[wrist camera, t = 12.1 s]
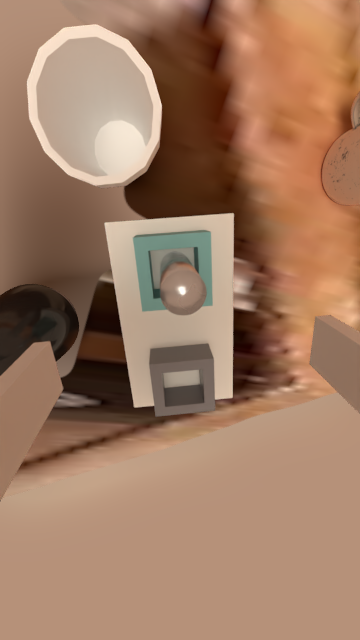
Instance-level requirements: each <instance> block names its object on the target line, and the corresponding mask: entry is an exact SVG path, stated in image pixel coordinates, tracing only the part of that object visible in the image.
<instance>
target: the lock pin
mask: <svg viewBox="0 0 360 640" xmlns="http://www.w3.org/2000/svg"><path fill="white" fill-rule="evenodd" d="M206 295H207V290H206V285H205V283H204V281H203V280H202V278H201V277H200V275H199V274H198V272H197V271H196V269H195V268H194V266H193V265H192V263H191V262H190V260H189V259H188V258H187V256H186V255H185V254H183V253H181V252H178V251H172V252H169V253H167V254H166V255H165V256H164V257H163V258H162V260H161V263H160V296H161V301H162V303H163V305H164V306H165V308H166V309H167V310H168V311H170V312H171V313H173V314H176V315H182V316H183V315H190V314H193V313H195V312H196V311H198V310H199V309H200V308H201V307H202V305H203V304H204V302H205V300H206Z"/></svg>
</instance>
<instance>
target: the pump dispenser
mask: <svg viewBox="0 0 360 640" xmlns="http://www.w3.org/2000/svg"><path fill="white" fill-rule="evenodd" d="M78 331H79V322H78V317H77V314H76V311H75V309H74V307H73V305H72V303H71V302H70V301H69V300H68V299H67V298H66V297H65V296H64V295H63V294H61V293H60V292H58V291H56V290H54V289H52V288H49V287H46V286H42V285H37V284H25V285H20V286H17V287H14V288H12V289H10V290H8V291H6V292H5V293H3V294H2V295H0V376H1V375H2V374H3V373H4V372H5V371H6V370H7V369H8V368H9V367H10V366H11V365H12V364H13V363H14V362H15V361H16V360H17V359H18V358H19V357H20V356H21V355H22V354H23V353H24V352H25V351H26V350H27V349H28V348H29V347H30V346H31V345H32V344H33V343H36V342H47V341H50V343H51V347H52V350H53V354H54V357H55V361H57V360H59V359H60V358H61V357H62V356H63V355H64V354H65V353H66V352H67V351H68V350H69V349H70V348H71V347H72V345H73V344H74V342H75V340H76V338H77V335H78Z"/></svg>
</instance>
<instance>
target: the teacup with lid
mask: <svg viewBox="0 0 360 640" xmlns="http://www.w3.org/2000/svg"><path fill="white" fill-rule="evenodd" d="M351 122H352V127H353V129H351V130H349V131H347V132H345V133H344V134H343V135H341V136H340V137H339V138H338V139H337V140H336V141H335V142H334V143H333V145H332V146H331V148H330V149H329V151H328V153H327V155H326V157H325V160H324V163H323V168H322V183H323V187H324V189H325V191H326V193H327V195H328V196H329V197H330V198H331V199H332V200H333V201H334V202H336V203H338V204H341V205H360V92H359V93H358V94H357V96H356V98H355V99H354V102H353V104H352V108H351Z"/></svg>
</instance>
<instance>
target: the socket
mask: <svg viewBox="0 0 360 640" xmlns="http://www.w3.org/2000/svg"><path fill="white" fill-rule="evenodd" d="M133 243H134V251H135V259H136V266H137V274H138V282H139V290H140V298H141V305H142V312H145V311H157V310H167V309H166V308H165V306H164V305H163V303H162V301H161V296H160V289H154V282H153V273H152V263H151V254H150V251H151V250H164V249H177V248H190V247H194V265H195V269H196V271H197V272H198V274H199V275H200V277H201V278H202V280H203V281H204V283H205V285H206V290H207V295H206V300H205V302H204V304H203V305H202V307H203V306H213V297H212V255H211V232H210V231H207V230H196V231H183V232H170V233H156V234H143V235H136V236H134V237H133Z"/></svg>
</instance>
